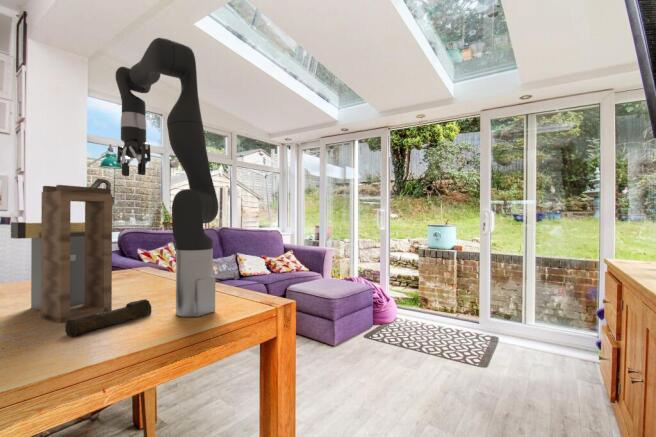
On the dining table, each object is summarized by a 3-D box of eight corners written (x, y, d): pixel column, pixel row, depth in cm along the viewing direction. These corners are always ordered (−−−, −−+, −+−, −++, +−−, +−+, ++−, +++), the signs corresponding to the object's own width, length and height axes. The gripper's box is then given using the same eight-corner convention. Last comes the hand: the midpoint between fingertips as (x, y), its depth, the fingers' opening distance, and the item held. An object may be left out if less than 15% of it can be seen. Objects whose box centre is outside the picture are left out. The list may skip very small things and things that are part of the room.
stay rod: (106, 235, 104) (106, 221, 104) (17, 238, 85) (17, 222, 85) (99, 234, 106) (99, 221, 106) (10, 238, 87) (10, 222, 87)
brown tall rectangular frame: (111, 310, 90) (112, 188, 90) (60, 323, 79) (61, 184, 79) (92, 306, 93) (92, 189, 93) (41, 318, 83) (41, 186, 83)
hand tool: (72, 340, 69) (73, 318, 69) (63, 336, 71) (64, 315, 71) (157, 317, 85) (157, 299, 85) (148, 314, 87) (148, 297, 87)
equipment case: (91, 302, 98) (91, 232, 98) (47, 312, 88) (47, 233, 88) (75, 299, 102) (75, 231, 101) (31, 308, 92) (31, 232, 92)
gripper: (109, 127, 112) (109, 175, 112) (136, 122, 105) (136, 172, 106) (131, 133, 118) (130, 177, 118) (157, 128, 112) (157, 175, 112)
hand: (133, 175), depth 112 cm, fingers open, 8 cm apart
